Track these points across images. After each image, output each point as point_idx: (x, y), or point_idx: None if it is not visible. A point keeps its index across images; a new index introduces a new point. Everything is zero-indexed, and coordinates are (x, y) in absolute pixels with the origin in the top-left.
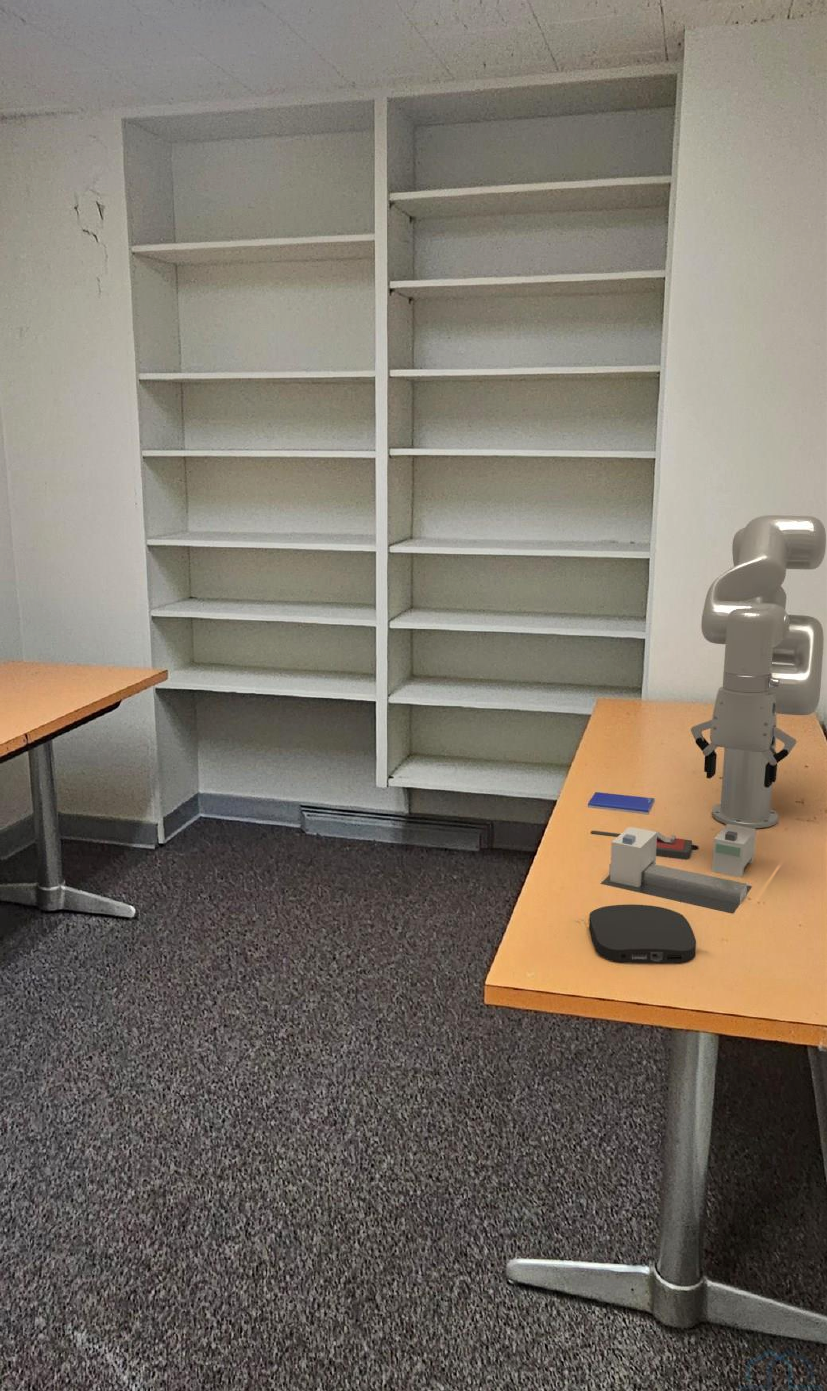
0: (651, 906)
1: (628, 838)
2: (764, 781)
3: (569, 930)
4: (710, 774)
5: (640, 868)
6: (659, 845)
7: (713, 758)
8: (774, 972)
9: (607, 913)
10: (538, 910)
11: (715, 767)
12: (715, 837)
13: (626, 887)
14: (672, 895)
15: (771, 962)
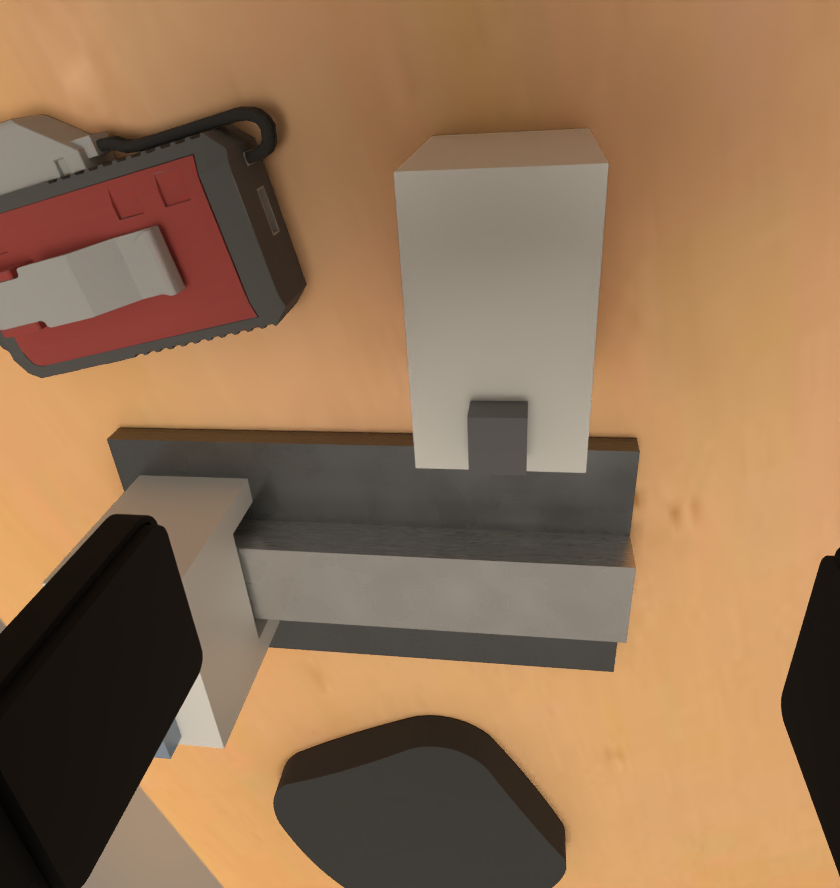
0: (390, 761)
1: (155, 756)
2: (801, 766)
3: (267, 814)
4: (184, 696)
5: (255, 665)
6: (146, 331)
7: (71, 819)
8: (765, 840)
9: (315, 820)
10: (150, 766)
11: (122, 588)
12: (416, 449)
13: None
14: (396, 631)
15: (754, 809)
